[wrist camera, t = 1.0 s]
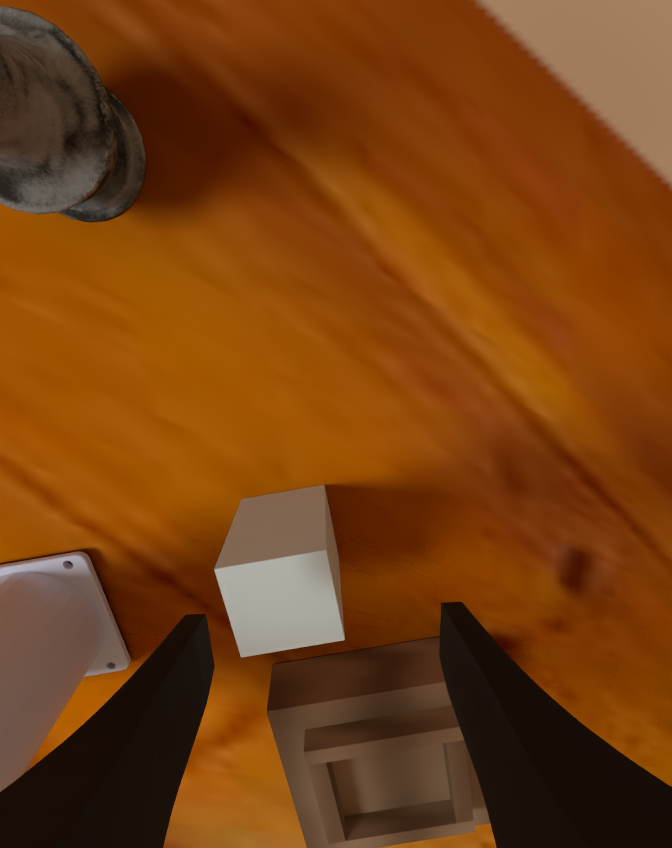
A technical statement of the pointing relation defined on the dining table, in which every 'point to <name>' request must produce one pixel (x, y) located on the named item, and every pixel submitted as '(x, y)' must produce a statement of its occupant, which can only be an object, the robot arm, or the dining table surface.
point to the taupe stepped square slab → (373, 747)
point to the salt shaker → (61, 127)
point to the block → (282, 573)
